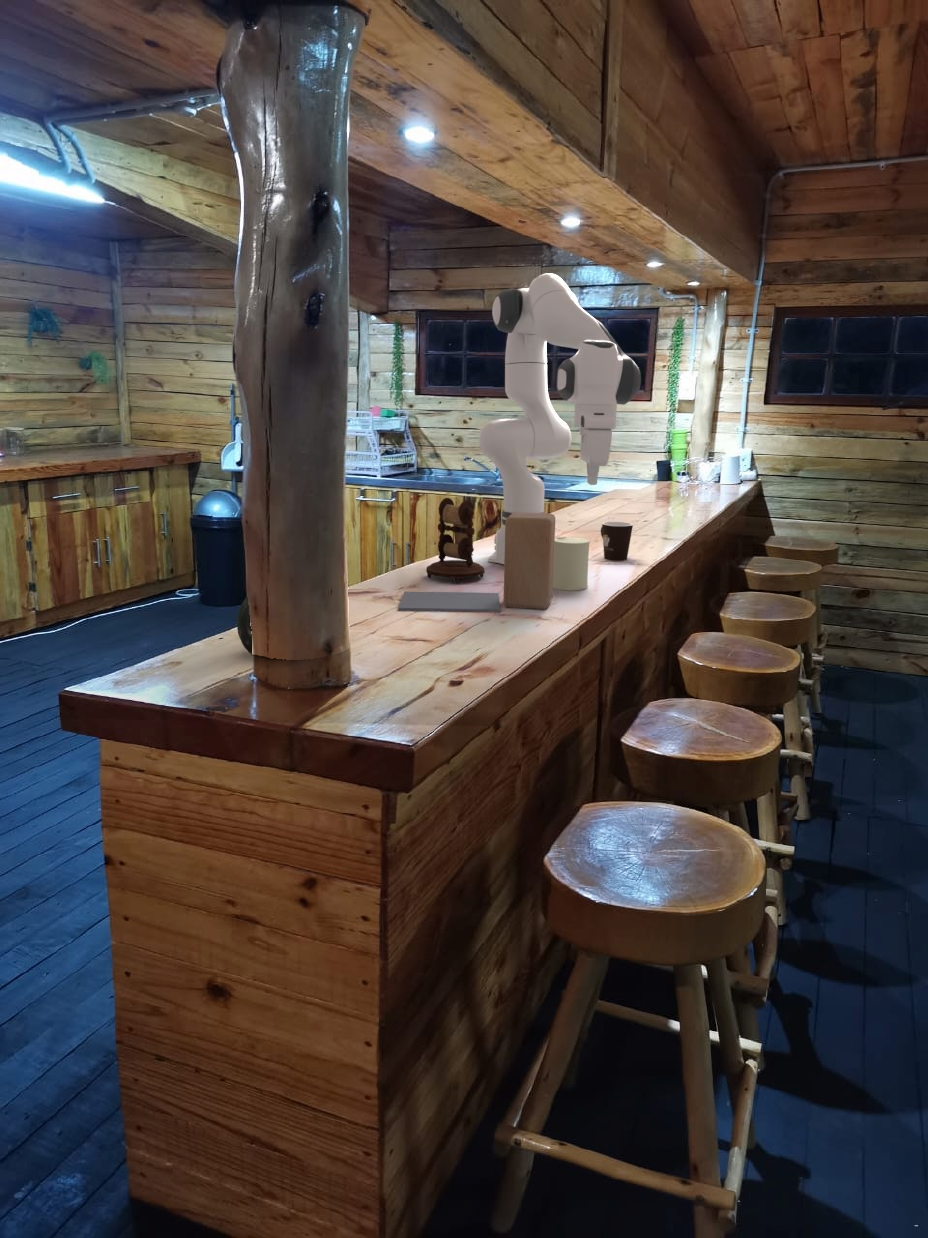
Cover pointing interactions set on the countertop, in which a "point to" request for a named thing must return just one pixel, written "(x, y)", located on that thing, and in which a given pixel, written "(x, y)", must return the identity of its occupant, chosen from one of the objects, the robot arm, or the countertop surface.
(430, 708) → the countertop surface
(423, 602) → the mat
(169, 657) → the countertop surface
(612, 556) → the coffee mug
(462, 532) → the wooden spool stand
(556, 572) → the can
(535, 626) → the countertop surface
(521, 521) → the block
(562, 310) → the robot arm
